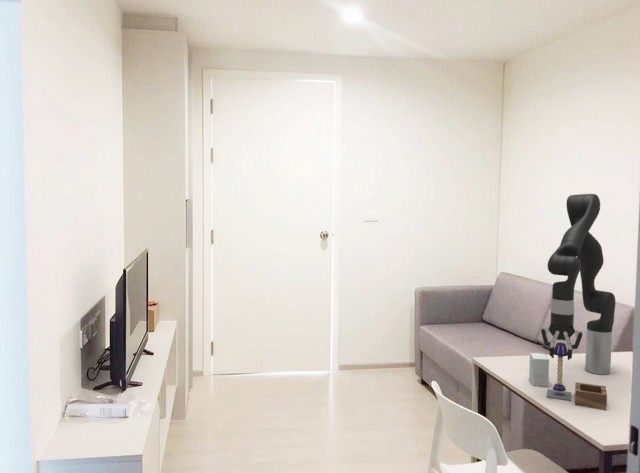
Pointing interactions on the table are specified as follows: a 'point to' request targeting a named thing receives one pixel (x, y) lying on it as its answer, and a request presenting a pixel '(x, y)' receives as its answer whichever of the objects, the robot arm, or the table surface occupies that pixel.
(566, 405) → the table surface
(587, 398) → the wooden cube shelf
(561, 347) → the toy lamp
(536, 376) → the small box
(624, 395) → the table surface
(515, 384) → the table surface
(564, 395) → the slate pad
